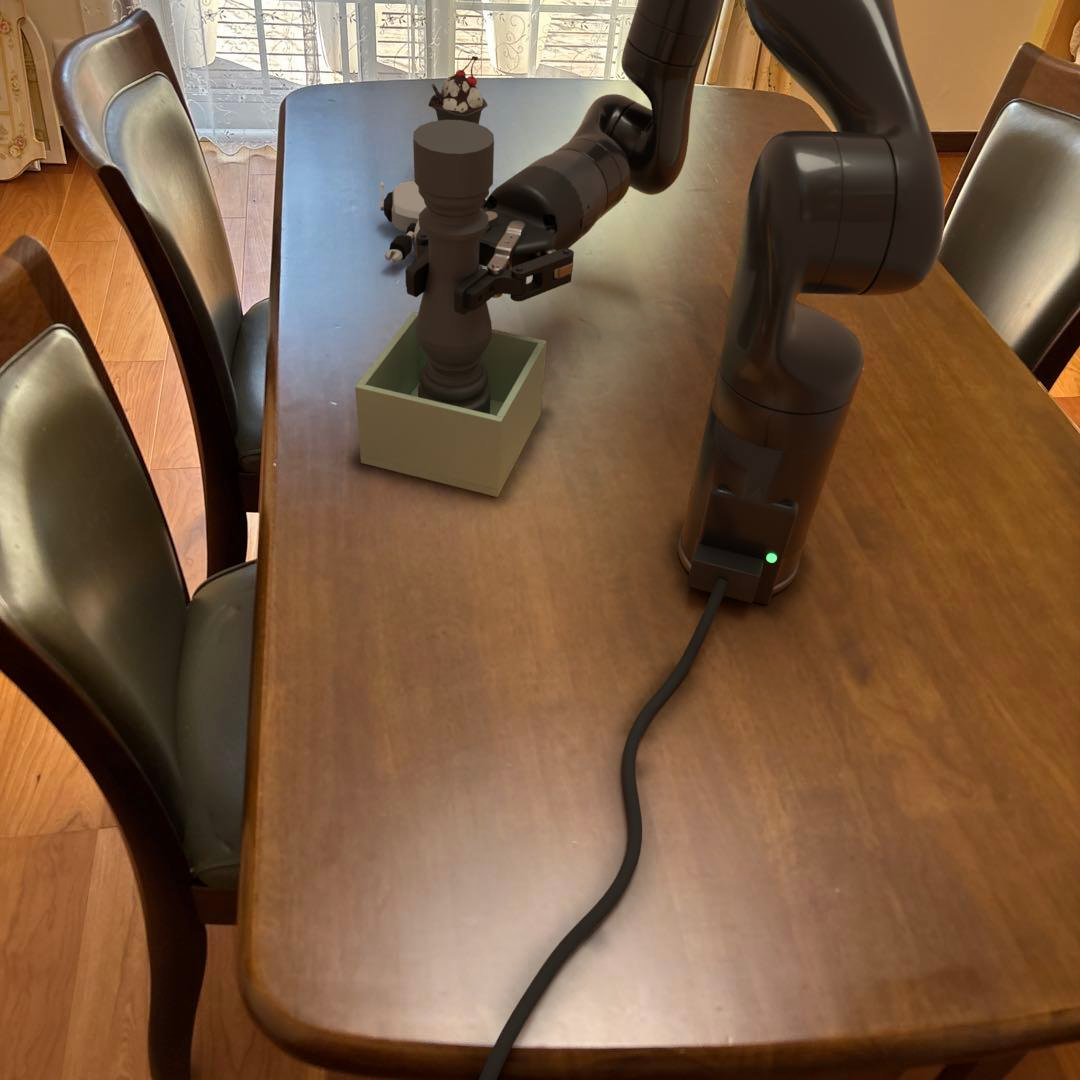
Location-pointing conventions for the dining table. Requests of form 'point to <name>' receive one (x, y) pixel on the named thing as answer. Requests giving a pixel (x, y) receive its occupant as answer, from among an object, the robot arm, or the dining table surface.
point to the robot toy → (403, 217)
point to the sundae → (459, 98)
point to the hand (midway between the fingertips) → (434, 293)
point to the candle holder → (453, 258)
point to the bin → (450, 414)
